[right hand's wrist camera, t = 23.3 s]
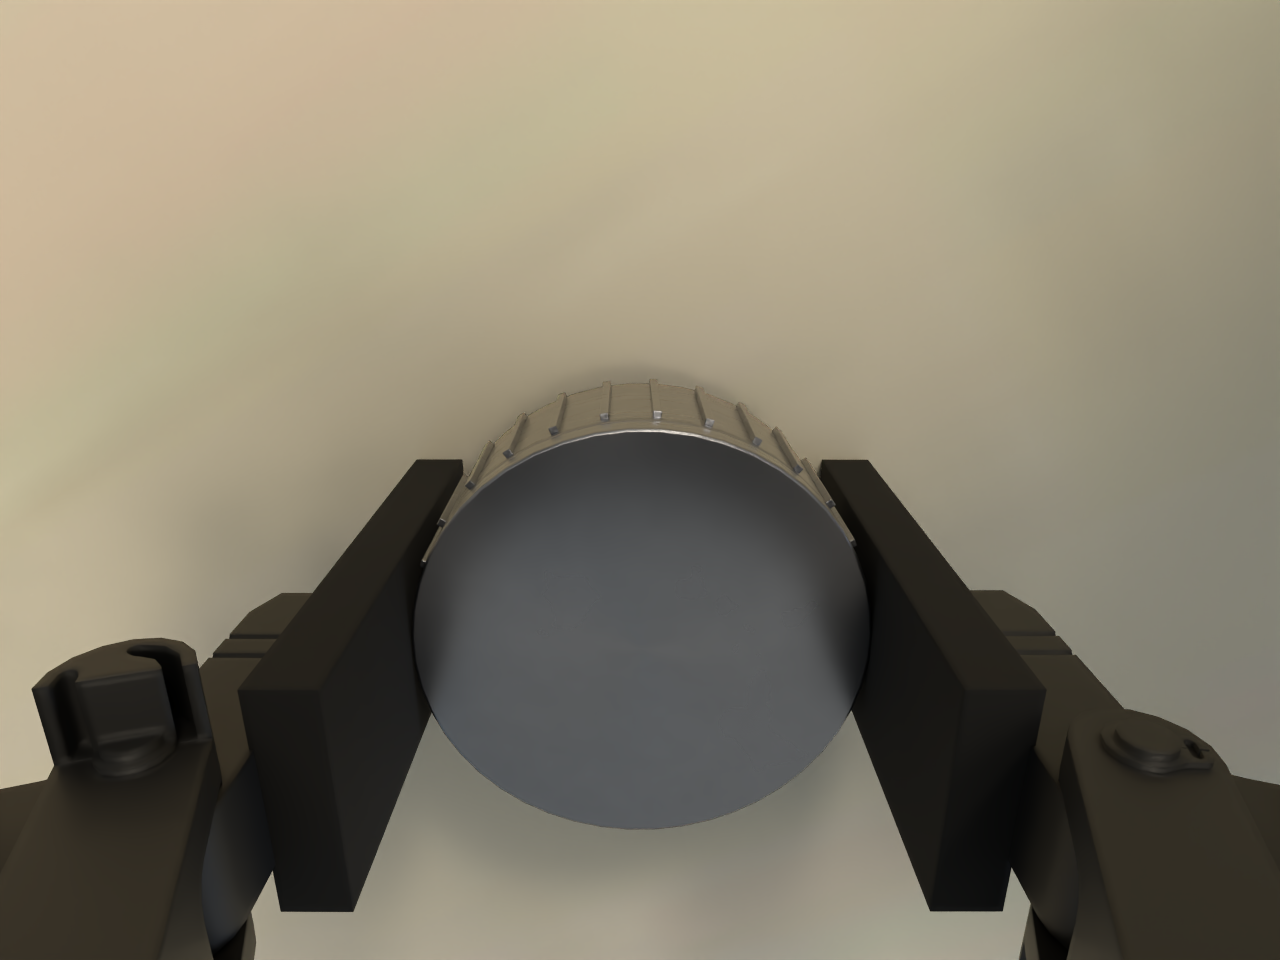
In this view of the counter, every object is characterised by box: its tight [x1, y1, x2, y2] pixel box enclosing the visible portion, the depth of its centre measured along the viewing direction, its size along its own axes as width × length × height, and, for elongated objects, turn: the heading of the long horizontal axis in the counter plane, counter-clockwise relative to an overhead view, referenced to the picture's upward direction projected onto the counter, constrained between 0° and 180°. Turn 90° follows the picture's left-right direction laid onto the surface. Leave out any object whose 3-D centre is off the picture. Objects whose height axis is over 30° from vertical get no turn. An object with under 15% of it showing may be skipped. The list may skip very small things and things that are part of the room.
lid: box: [412, 379, 872, 829], centre depth 12 cm, size 6×6×2 cm
